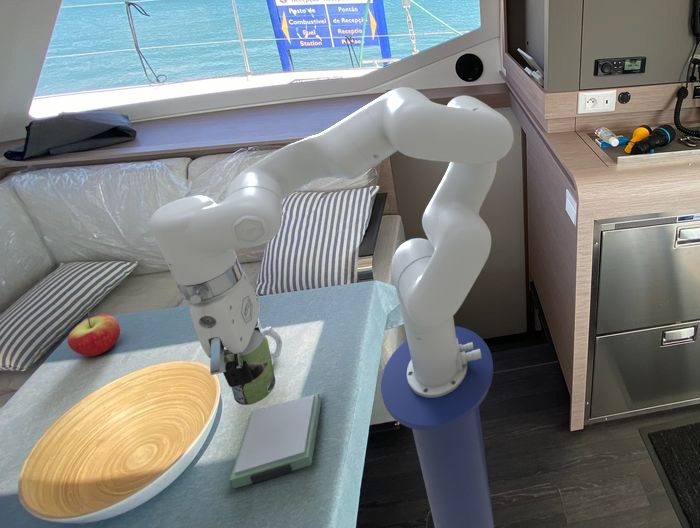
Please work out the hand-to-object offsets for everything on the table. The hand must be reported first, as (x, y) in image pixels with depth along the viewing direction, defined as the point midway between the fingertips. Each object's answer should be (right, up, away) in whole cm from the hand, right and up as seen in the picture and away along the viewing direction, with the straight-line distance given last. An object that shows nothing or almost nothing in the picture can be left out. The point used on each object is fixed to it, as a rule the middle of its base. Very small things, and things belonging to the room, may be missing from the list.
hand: (248, 364), depth 67 cm
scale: (+1, -18, +8) cm, 20 cm away
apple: (-53, -12, +30) cm, 62 cm away
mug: (-10, -13, +22) cm, 28 cm away
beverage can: (0, -7, +3) cm, 7 cm away
